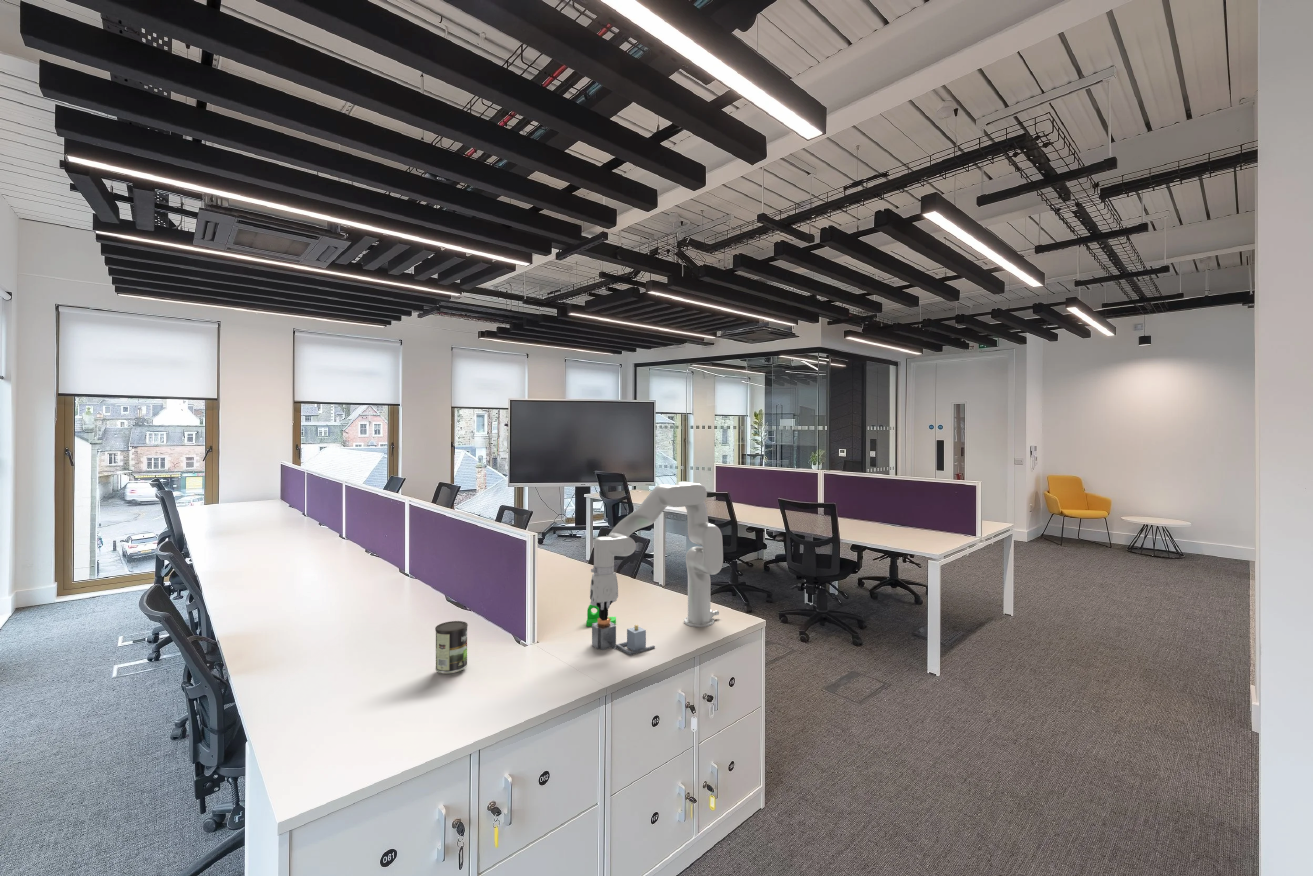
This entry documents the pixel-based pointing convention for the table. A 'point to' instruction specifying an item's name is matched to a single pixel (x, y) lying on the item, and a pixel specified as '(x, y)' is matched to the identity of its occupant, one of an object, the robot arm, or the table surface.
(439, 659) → the coffee can
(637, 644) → the light blue block
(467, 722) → the table surface
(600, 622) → the plunger
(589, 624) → the mechanical part
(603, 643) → the copper disc holder
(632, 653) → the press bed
